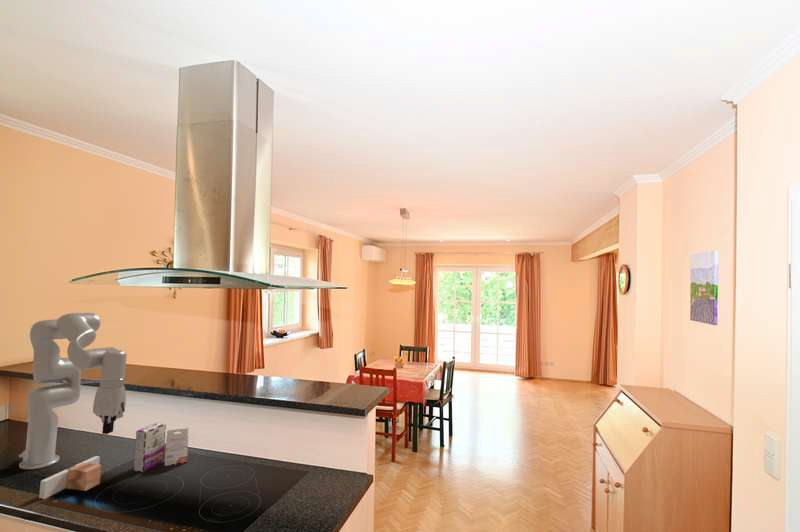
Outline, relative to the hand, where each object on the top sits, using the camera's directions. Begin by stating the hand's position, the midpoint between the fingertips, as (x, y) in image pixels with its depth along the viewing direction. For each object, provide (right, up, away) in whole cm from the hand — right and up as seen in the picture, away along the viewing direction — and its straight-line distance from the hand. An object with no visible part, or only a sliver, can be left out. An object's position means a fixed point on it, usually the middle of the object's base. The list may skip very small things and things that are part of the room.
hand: (107, 432), depth 153 cm
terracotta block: (-9, -20, 0) cm, 22 cm away
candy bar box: (+4, -22, +18) cm, 29 cm away
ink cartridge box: (+13, -23, +23) cm, 35 cm away
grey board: (-14, -20, +1) cm, 24 cm away
